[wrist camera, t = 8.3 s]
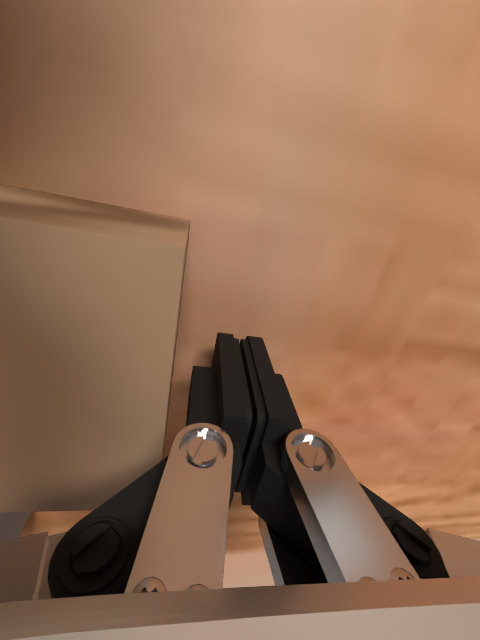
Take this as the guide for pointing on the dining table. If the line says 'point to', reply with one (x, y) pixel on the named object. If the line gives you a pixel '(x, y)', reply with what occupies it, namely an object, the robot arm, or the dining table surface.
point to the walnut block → (83, 346)
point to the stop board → (12, 524)
